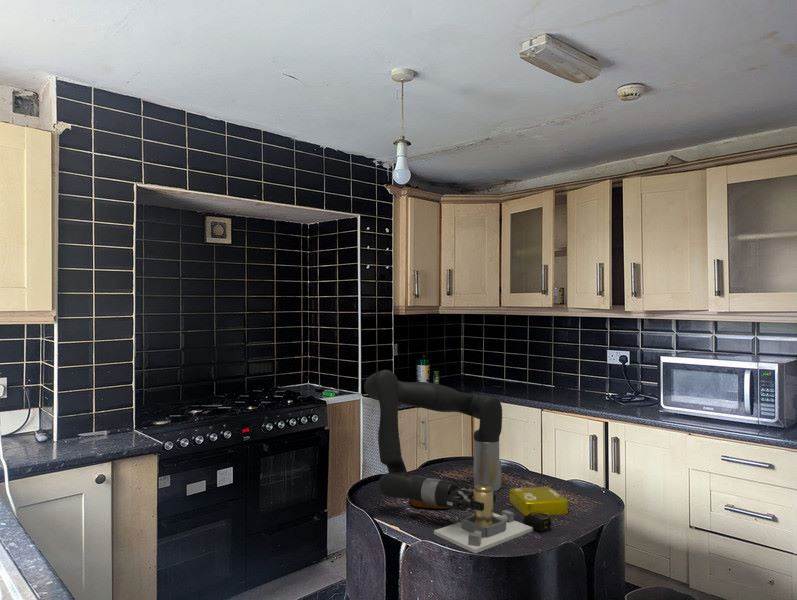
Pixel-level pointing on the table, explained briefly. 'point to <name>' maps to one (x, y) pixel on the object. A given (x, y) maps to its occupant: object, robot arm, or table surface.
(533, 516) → the tape measure
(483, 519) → the golden brown cylinder
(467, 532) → the cradle
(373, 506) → the table surface
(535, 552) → the table surface
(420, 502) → the croissant
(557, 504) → the element tile
